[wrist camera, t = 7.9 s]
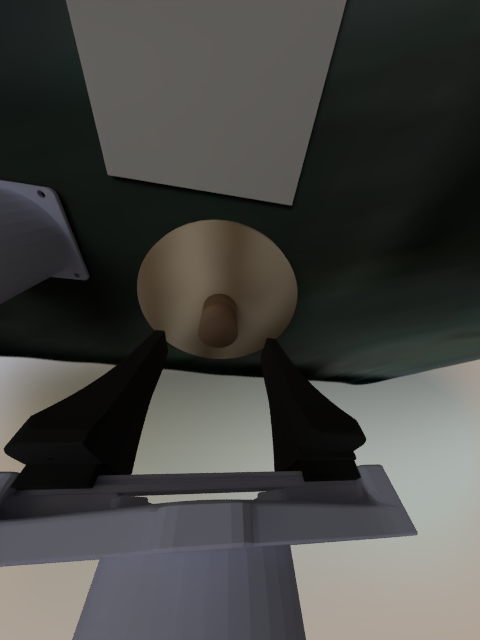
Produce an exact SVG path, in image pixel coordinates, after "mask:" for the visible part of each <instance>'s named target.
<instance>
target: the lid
mask: <svg viewBox="0 0 480 640" xmlns="http://www.w3.org/2000/svg"><path fill="white" fill-rule="evenodd" d="M137 294H138V300H139V304H140V307H141V310H142V312H143V314H144V316H145V318H146V320H147V321H148V323H149V324H150V326H151V327H152V328H153V329H154V330H162V331H165V335H166V341H167V342H168V343H170V344H171V345H173V346H175V347H176V348H178V349H180V350H182V351H184V352H187V353H190V354H193V355H196V356H200V357H206V358H214V359H228V358H236V357H241V356H245V355H249V354H251V353H254V352H256V351H258V350H261V349H263V348H264V345H265V342H266V339H267V338H275V339H277V338H278V337H279V336H280V335H281V334H282V332H283V331H284V330H285V329H286V327H287V326H288V324H289V323H290V321H291V319H292V317H293V314H294V311H295V308H296V303H297V284H296V278H295V275H294V272H293V270H292V268H291V266H290V264H289V262H288V260H287V259H286V257H285V256H284V254H283V253H282V252H281V250H280V249H279V248H278V247H277V246H276V245H275V244H274V243H273V242H272V241H271V240H270V239H269V238H267V237H266V236H265V235H263V234H262V233H260V232H258V231H257V230H255V229H253V228H251V227H248V226H246V225H243V224H240V223H237V222H232V221H227V220H202V221H197V222H193V223H188V224H186V225H184V226H181V227H179V228H176V229H175V230H173V231H172V232H170V233H168V234H167V235H166V236H164V237H163V238H162V239H161V240H160V241H159V242H157V243H156V244H155V245H154V246H153V247H152V249H151V250H150V251H149V252H148V254H147V255H146V257H145V259H144V261H143V262H142V265H141V268H140V271H139V275H138V281H137Z"/></svg>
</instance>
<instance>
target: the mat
mask: <svg viewBox="0 0 480 640" xmlns="http://www.w3.org/2000/svg"><path fill="white" fill-rule="evenodd" d="M346 1H347V0H66V2H67V6H68V10H69V15H70V19H71V23H72V27H73V31H74V36H75V40H76V44H77V48H78V52H79V56H80V61H81V65H82V69H83V73H84V77H85V81H86V86H87V90H88V94H89V98H90V102H91V106H92V111H93V115H94V119H95V123H96V127H97V131H98V136H99V140H100V144H101V148H102V152H103V157H104V161H105V165H106V169H107V173H108V175H112V176H118V177H124V178H130V179H136V180H142V181H148V182H154V183H160V184H166V185H172V186H178V187H184V188H190V189H196V190H202V191H208V192H214V193H220V194H226V195H232V196H238V197H244V198H250V199H256V200H262V201H268V202H274V203H280V204H286V205H292V203H293V199H294V195H295V191H296V188H297V184H298V180H299V176H300V173H301V169H302V165H303V161H304V158H305V154H306V150H307V147H308V143H309V139H310V135H311V132H312V128H313V124H314V120H315V117H316V113H317V109H318V105H319V102H320V98H321V94H322V90H323V87H324V83H325V79H326V75H327V72H328V68H329V64H330V60H331V57H332V53H333V49H334V45H335V42H336V38H337V34H338V30H339V27H340V23H341V19H342V15H343V12H344V8H345V4H346Z"/></svg>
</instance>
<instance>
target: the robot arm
mask: <svg viewBox="0 0 480 640" xmlns="http://www.w3.org/2000/svg"><path fill="white" fill-rule="evenodd" d="M41 191H42V192H43V193H44V194H45V197H44V196H43V195H42V193H41ZM77 274H79V276H78V275H77ZM49 277H57V278H67V279H77V280H87V279H89V277H90V276H89V273H88V270H87V268H86V265H85V263H84V260H83V258H82V255H81V253H80V250H79V248H78V245H77V242H76V240H75V237H74V235H73V232H72V230H71V227H70V225H69V222H68V220H67V217H66V214H65V212H64V209H63V207H62V204H61V202H60V199H59V197H58V195H57V193H56V192H55V191H54V190H53V189H51V188H49V187H42V186H36V185H29V184H23V183H16V182H10V181H3V180H0V304H1V303H3V302H5V301H7V300H8V299H10V298H12V297H14V296H16V295H18V294H20V293H21V292H23V291H25V290H27V289H29V288H31V287H33V286H35V285H36V284H38V283H40V282H42V281H44V280H46V279H48V278H49ZM167 353H168V348H167V341H166V335H165V331H162V330H155V331H154V332H153V333H152V334H151V335H150V336H149V337H148V338H147V339H146V340H145V341H144V342H143V343H142V344H141V345H140V346H138V347H137V348H136V349H135V350H134V351H133V352H132V353H131V354H130V355H129V356H127V357H126V358H125V359H124V360H123V361H121V362H120V363H119V364H118V365H116V366H115V367H114V368H113V369H111V370H110V371H108V372H107V373H106V374H104V375H103V376H101V377H100V378H99V379H97V380H95V381H94V382H92V383H91V384H89V385H88V386H86V387H85V388H83V389H81V390H79V391H78V392H76V393H75V394H73V395H71V396H69V397H68V398H66V399H64V400H62V401H60V402H58V403H56V404H54V405H52V406H50V407H48V408H46V409H44V410H43V411H40V412H38V413H36V414H34V415H32V416H31V417H30V418H29V419H28V420H27V421H26V422H25V423H24V425H23V426H22V427H21V428H20V429H19V431H18V432H17V433H16V434H15V435H14V437H13V438H12V439H11V440H10V441H9V443H8V444H7V445H6V446H5V448H4V451H5V453H6V454H7V455H8V456H10V457H12V458H14V459H16V460H18V461H20V462H21V463H23V464H26V466H25V467H24V469H23V470H22V471H21V473H17V472H0V567H2V566H14V565H29V564H43V563H56V562H70V561H83V560H96V559H97V560H98V559H100V560H99V563H98V566H97V569H96V572H95V575H94V578H93V581H92V584H91V587H90V589H89V592H88V595H87V598H86V601H85V604H84V607H83V610H82V613H81V616H80V619H79V622H78V624H77V627H76V631H75V633H74V637H73V639H72V640H306V638H305V632H304V625H303V619H302V613H301V608H300V601H299V595H298V589H297V584H296V578H295V571H294V565H293V560H292V554H291V548H290V545H297V544H311V543H324V542H336V541H348V540H349V541H350V540H363V539H376V538H389V537H400V536H413V535H417V531H416V529H415V527H414V525H413V523H412V521H411V520H410V518H409V516H408V514H407V512H406V510H405V508H404V506H403V505H402V503H401V501H400V499H399V497H398V495H397V493H396V491H395V490H394V488H393V486H392V484H391V482H390V480H389V478H388V476H387V475H386V473H385V471H384V469H383V467H382V466H381V465H360V466H356V464H355V461H354V460H355V459H356V456H355V454H354V452H353V451H354V450H356V449H357V448H359V447H360V446H362V445H363V444H364V443H365V441H366V437H365V435H364V433H363V432H362V429H361V428H360V426H359V424H358V422H357V421H356V420H355V419H353V418H352V417H351V416H349V415H348V414H347V413H345V412H344V411H342V410H341V409H340V408H338V407H337V406H336V405H335V404H333V403H332V402H331V401H329V400H328V399H327V398H326V397H325V396H324V395H322V394H321V393H320V392H319V391H318V390H317V389H316V388H315V387H314V386H313V385H312V384H311V383H310V382H309V381H308V380H307V379H306V378H305V377H304V376H303V375H302V374H301V373H300V372H299V370H298V369H297V368H296V367H295V365H294V364H293V363H292V362H291V360H290V359H289V358H288V356H287V355H286V354H285V352H284V351H283V349H282V348H281V347H280V345H279V344H278V342H277V341H276V339H275V338H267V339H266V342H265V345H264V349H263V352H262V355H261V363H262V371H263V376H264V381H265V386H266V390H267V395H268V400H269V407H270V414H271V425H272V437H273V450H274V469H275V472H235V473H194V474H193V473H190V474H147V475H146V474H145V475H131V474H132V470H133V466H134V461H135V457H136V452H137V448H138V444H139V440H140V436H141V432H142V428H143V425H144V421H145V417H146V413H147V410H148V406H149V404H150V400H151V397H152V394H153V392H154V390H155V387H156V385H157V382H158V379H159V377H160V375H161V372H162V370H163V367H164V365H165V361H166V357H167ZM256 491H266V492H260V493H258V498H256V499H254V500H197V501H182V502H171V503H160V504H151V503H149V502H148V499H147V497H135V496H145V495H171V494H172V495H174V494H200V493H201V494H202V493H230V492H256Z"/></svg>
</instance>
